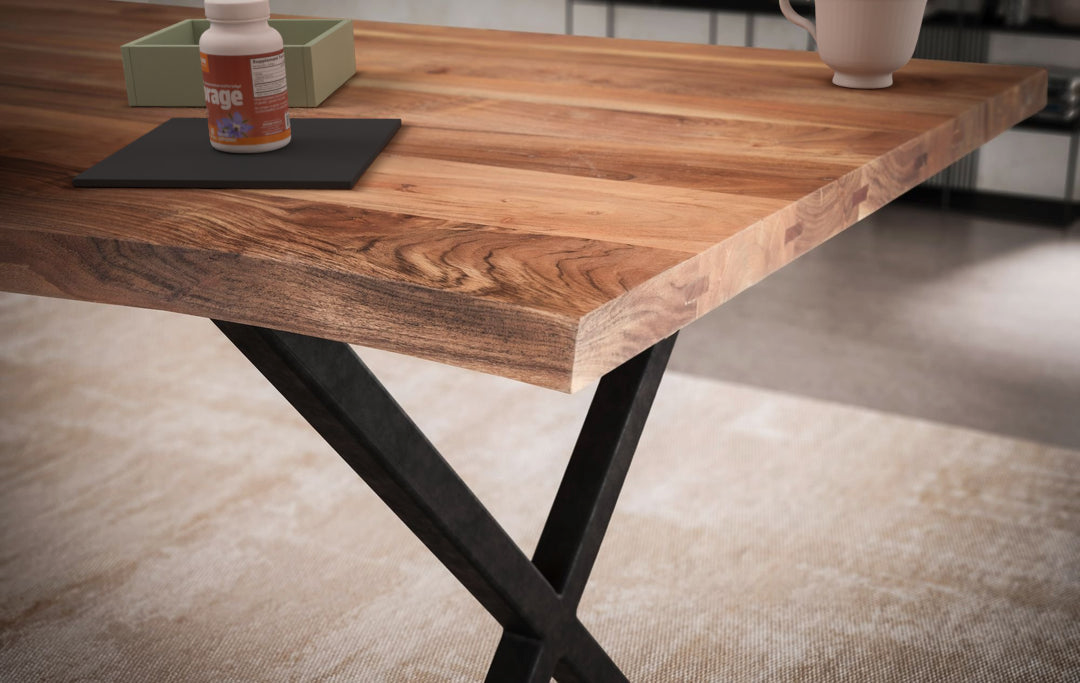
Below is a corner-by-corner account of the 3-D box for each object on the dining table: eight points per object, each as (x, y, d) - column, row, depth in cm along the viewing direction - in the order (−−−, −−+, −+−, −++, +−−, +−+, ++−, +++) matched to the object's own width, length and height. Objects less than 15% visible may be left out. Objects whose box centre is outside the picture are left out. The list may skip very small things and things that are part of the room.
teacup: (792, 66, 123) (799, -32, 119) (937, 78, 117) (950, -27, 113) (755, 86, 114) (761, -21, 110) (910, 100, 107) (923, -14, 103)
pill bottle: (194, 147, 90) (175, -1, 86) (258, 132, 95) (243, -9, 90) (244, 159, 87) (226, 5, 82) (308, 143, 91) (295, -3, 87)
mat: (72, 186, 82) (71, 178, 82) (173, 124, 101) (172, 117, 101) (351, 189, 81) (350, 181, 81) (401, 125, 100) (401, 118, 99)
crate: (128, 106, 108) (119, 46, 106) (193, 72, 124) (186, 19, 122) (316, 107, 107) (310, 46, 105) (356, 72, 123) (352, 18, 121)
